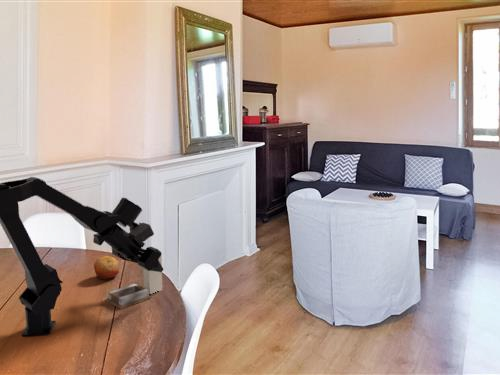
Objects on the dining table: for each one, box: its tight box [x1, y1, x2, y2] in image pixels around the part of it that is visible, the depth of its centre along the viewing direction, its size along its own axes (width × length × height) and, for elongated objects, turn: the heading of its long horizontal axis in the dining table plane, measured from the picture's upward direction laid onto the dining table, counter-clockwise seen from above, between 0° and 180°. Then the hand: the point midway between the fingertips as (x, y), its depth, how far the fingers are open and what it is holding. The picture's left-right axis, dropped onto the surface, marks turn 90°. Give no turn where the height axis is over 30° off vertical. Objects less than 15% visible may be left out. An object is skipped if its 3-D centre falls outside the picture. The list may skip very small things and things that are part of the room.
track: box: [105, 283, 152, 310], centre depth 128 cm, size 10×8×3 cm
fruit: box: [93, 255, 120, 281], centre depth 145 cm, size 8×8×8 cm
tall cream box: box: [143, 255, 163, 295], centre depth 134 cm, size 4×3×12 cm, turn 136°
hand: (153, 266), depth 134 cm, fingers open, 9 cm apart
